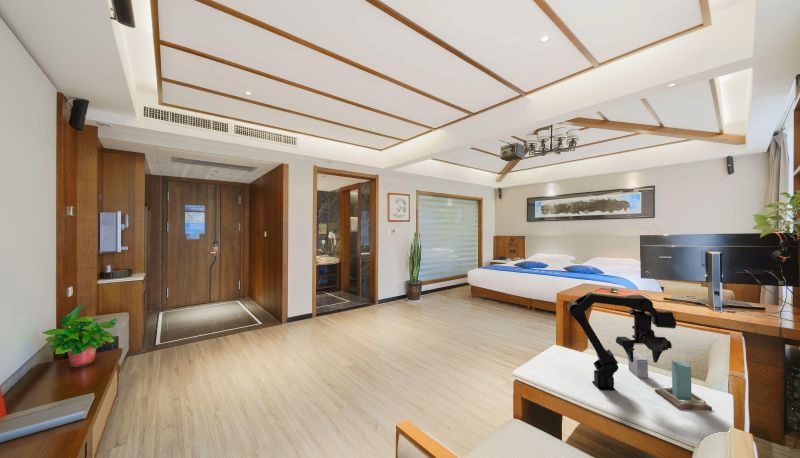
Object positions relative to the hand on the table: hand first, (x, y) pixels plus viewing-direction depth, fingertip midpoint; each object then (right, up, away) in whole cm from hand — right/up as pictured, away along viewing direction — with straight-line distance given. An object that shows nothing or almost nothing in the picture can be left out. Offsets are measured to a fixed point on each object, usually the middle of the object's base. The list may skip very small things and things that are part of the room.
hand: (643, 362), depth 126 cm
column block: (+11, -12, -6) cm, 17 cm away
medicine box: (+10, -13, +15) cm, 22 cm away
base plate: (+11, -13, -6) cm, 18 cm away
